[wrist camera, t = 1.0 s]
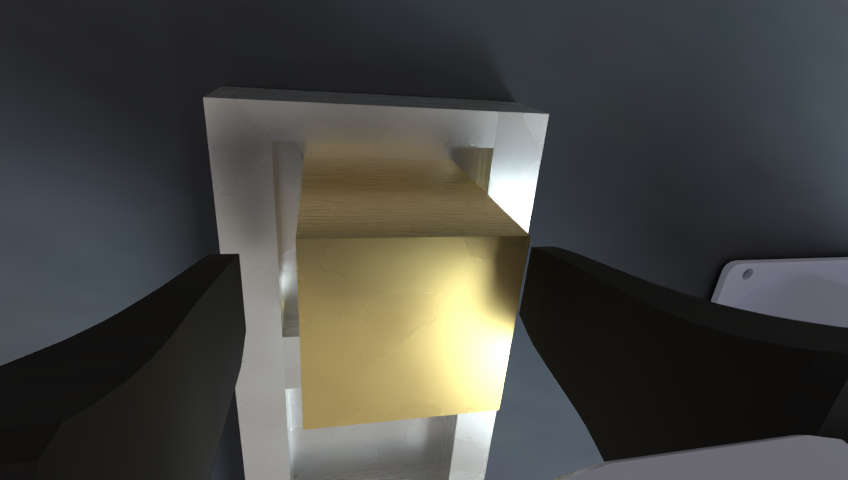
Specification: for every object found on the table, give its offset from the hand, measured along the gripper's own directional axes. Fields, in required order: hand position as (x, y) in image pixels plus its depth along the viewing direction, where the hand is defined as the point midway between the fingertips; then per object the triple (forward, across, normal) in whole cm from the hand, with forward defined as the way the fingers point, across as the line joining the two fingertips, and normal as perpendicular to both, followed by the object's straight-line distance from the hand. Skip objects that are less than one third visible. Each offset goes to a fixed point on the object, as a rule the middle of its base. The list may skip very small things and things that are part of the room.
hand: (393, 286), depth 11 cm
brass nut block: (+4, 0, 0) cm, 4 cm away
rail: (+5, 0, +8) cm, 9 cm away
